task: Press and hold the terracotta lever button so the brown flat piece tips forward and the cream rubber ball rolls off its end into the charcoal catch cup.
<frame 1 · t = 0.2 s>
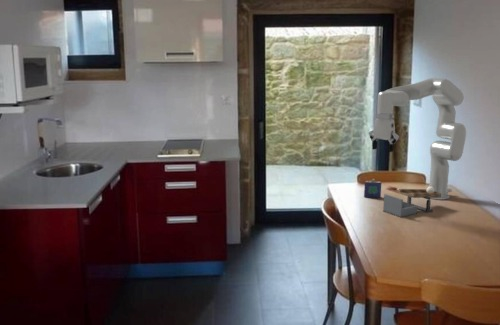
hand: (382, 150, 264), 31 cm above the table, fingers open, 9 cm apart
ball: (430, 190, 273), point 9 cm above the table, tilted 17°, touching brown flat piece
brown flat piece: (414, 192, 272), point 8 cm above the table, hinge at -8.0°, touching ball
pivot stand: (418, 208, 271), on the table
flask: (372, 197, 291), on the table
catch cup: (400, 212, 264), on the table
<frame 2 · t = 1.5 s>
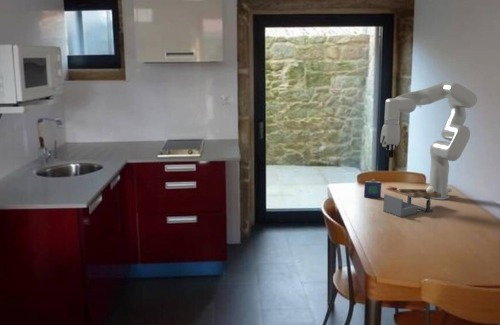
hand: (389, 157, 276), 25 cm above the table, fingers closed
nothing on the table moved.
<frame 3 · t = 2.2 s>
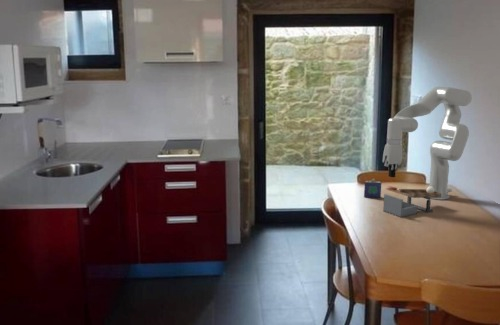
hand: (391, 176, 273), 16 cm above the table, fingers closed
nothing on the table moved.
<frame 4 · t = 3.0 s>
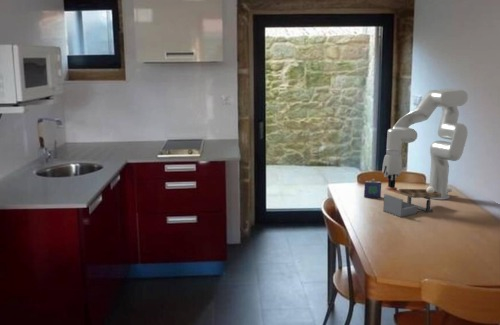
hand: (391, 186, 274), 10 cm above the table, fingers closed
ball: (430, 190, 273), point 9 cm above the table, tilted 17°
brown flat piece: (414, 192, 272), point 8 cm above the table, hinge at -7.9°, touching gripper
everything else where it was.
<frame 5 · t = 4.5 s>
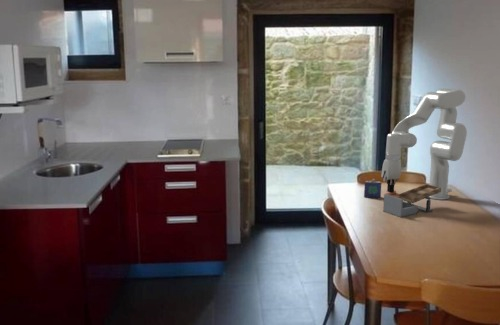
hand: (390, 191, 274), 8 cm above the table, fingers closed
ball: (396, 208, 262), point 3 cm above the table, tilted 70°, touching catch cup
brown flat piece: (413, 192, 272), point 8 cm above the table, hinge at 8.6°, touching gripper
everything else where it was.
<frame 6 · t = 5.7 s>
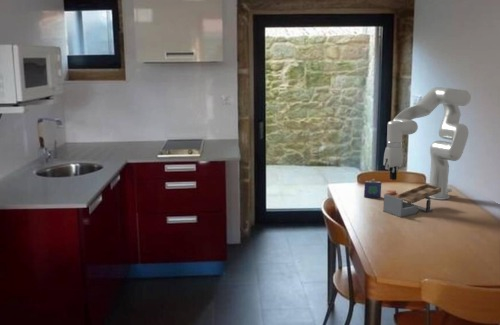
hand: (393, 179, 273), 14 cm above the table, fingers closed
ball: (398, 208, 262), point 3 cm above the table, tilted 34°, touching catch cup
brown flat piece: (413, 192, 272), point 8 cm above the table, hinge at 8.6°
everything else where it was.
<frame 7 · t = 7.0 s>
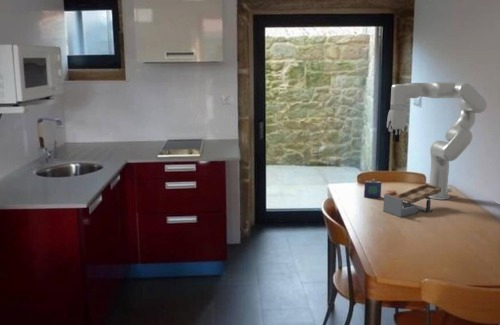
hand: (395, 141, 282), 32 cm above the table, fingers closed
ball: (399, 207, 263), point 3 cm above the table, touching catch cup
everything else where it was.
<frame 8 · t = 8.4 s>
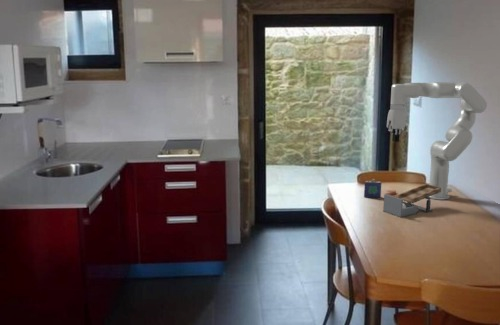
hand: (395, 141, 282), 32 cm above the table, fingers closed
ball: (401, 207, 264), point 3 cm above the table, tilted 46°, touching catch cup
everything else where it was.
at the end: ball inside the target area on the catch cup (1.2 cm from its centre), point 2.6 cm above the catch cup's base; brown flat piece at +9° (first picture: -8°) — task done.
